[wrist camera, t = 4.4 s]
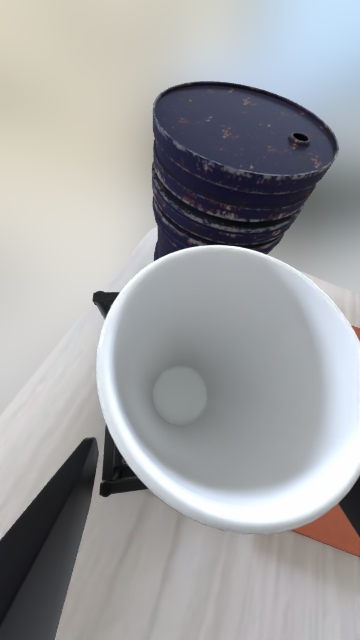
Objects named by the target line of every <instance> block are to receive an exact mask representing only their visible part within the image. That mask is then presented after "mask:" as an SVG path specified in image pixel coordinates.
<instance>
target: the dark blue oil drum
mask: <svg viewBox="0 0 360 640" xmlns="http://www.w3.org/2000/svg"><path fill="white" fill-rule="evenodd" d="M153 132H154V137H155V140H154V148H153V149H154V161H153V165H152V188H153V194H154V196H153V210H154V215H155V220H156V223H157V225H158V241H157V243H156V247H155V252H154V261H156V260H158V259H159V258H161V257H164V256H166V255H168V254H170V253H173V252H176V251H179V250H183V249H186V248H191V247H197V246H206V245H225V246H235V247H241V248H246V249H250V250H254V251H257V252H260V253H263V254H266V255H267V254H268V253H269V252H270V251H271V250H272V249H273V248H274V247H275V246H276V245H277V244H278V243H279V242H280V241H281V239H282V237H283V235H284V232H285V231H286V230H287V229H289V227H290V226H291V224H292V223H293V222H294V220H295V219H296V217H297V216H298V215H299V213H300V212H301V210H302V209H303V206H304V203H305V201H306V200H307V199H308V197H309V196H310V194H311V193H312V191H313V190H314V188H315V186H316V183H317V182H318V181H319V180H320V179H322V177H323V176H324V174H325V173H326V171H327V170H328V169H329V167H330V166H331V164H332V163H333V161H334V160H335V158H336V157H337V155H338V150H339V146H338V141H337V139H336V136H335V134H334V133H333V132H332V130H331V129H330V127H329V126H328V125H326V123H325V122H324V121H323V120H321V119H320V118H319V117H318V116H316V115H315V114H314V113H312V112H311V111H309V110H308V109H306V108H304V107H302V106H301V105H299V104H297V103H295V102H293V101H290V100H289V99H287V98H284V97H282V96H279V95H277V94H274V93H271V92H268V91H265V90H261V89H258V88H254V87H250V86H245V85H241V84H234V83H227V82H214V81H201V82H190V83H184V84H180V85H176V86H173V87H171V88H168V89H167V90H165V91H163V92H162V93H161V94H160V95H159V96H158V97H157V98H156V100H155V102H154V104H153Z"/></svg>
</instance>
